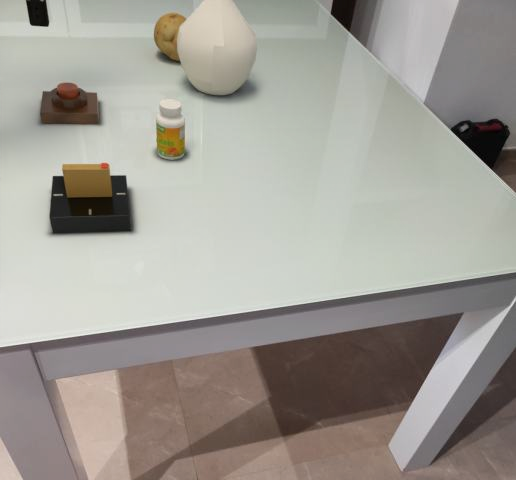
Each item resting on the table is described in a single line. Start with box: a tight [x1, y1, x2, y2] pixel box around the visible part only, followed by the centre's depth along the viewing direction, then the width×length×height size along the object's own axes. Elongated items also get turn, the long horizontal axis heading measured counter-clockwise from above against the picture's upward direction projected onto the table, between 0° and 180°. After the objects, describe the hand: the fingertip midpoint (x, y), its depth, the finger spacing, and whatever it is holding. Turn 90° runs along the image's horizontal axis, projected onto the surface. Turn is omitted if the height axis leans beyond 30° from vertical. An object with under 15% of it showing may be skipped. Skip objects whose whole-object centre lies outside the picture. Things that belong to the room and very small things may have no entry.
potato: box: [153, 12, 187, 62], centre depth 130 cm, size 10×12×10 cm
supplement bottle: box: [155, 98, 186, 161], centre depth 97 cm, size 5×5×10 cm
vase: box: [177, 0, 258, 96], centre depth 113 cm, size 18×18×30 cm
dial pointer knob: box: [61, 162, 112, 198], centre depth 81 cm, size 7×2×5 cm, turn 102°
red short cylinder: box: [56, 81, 79, 98], centre depth 104 cm, size 4×4×2 cm
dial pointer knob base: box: [49, 174, 132, 234], centre depth 84 cm, size 12×12×3 cm
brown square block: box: [39, 87, 100, 125], centre depth 106 cm, size 11×10×4 cm
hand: (39, 24), depth 92 cm, fingers closed
